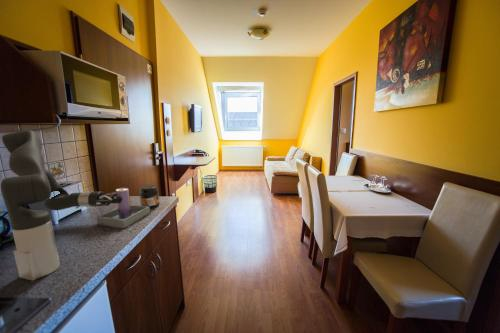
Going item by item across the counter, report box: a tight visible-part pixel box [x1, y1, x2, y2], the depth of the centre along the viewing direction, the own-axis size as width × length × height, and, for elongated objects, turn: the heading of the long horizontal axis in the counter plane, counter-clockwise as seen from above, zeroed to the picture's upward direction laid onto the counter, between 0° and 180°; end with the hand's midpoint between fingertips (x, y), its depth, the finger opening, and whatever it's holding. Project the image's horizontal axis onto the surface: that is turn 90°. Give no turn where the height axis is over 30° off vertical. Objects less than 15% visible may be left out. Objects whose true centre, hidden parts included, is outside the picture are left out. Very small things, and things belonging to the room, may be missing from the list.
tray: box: [96, 204, 151, 229], centre depth 115 cm, size 18×16×4 cm
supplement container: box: [138, 184, 160, 209], centre depth 132 cm, size 10×10×12 cm
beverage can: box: [115, 187, 132, 219], centre depth 114 cm, size 6×6×15 cm
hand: (125, 197), depth 113 cm, fingers open, 8 cm apart
